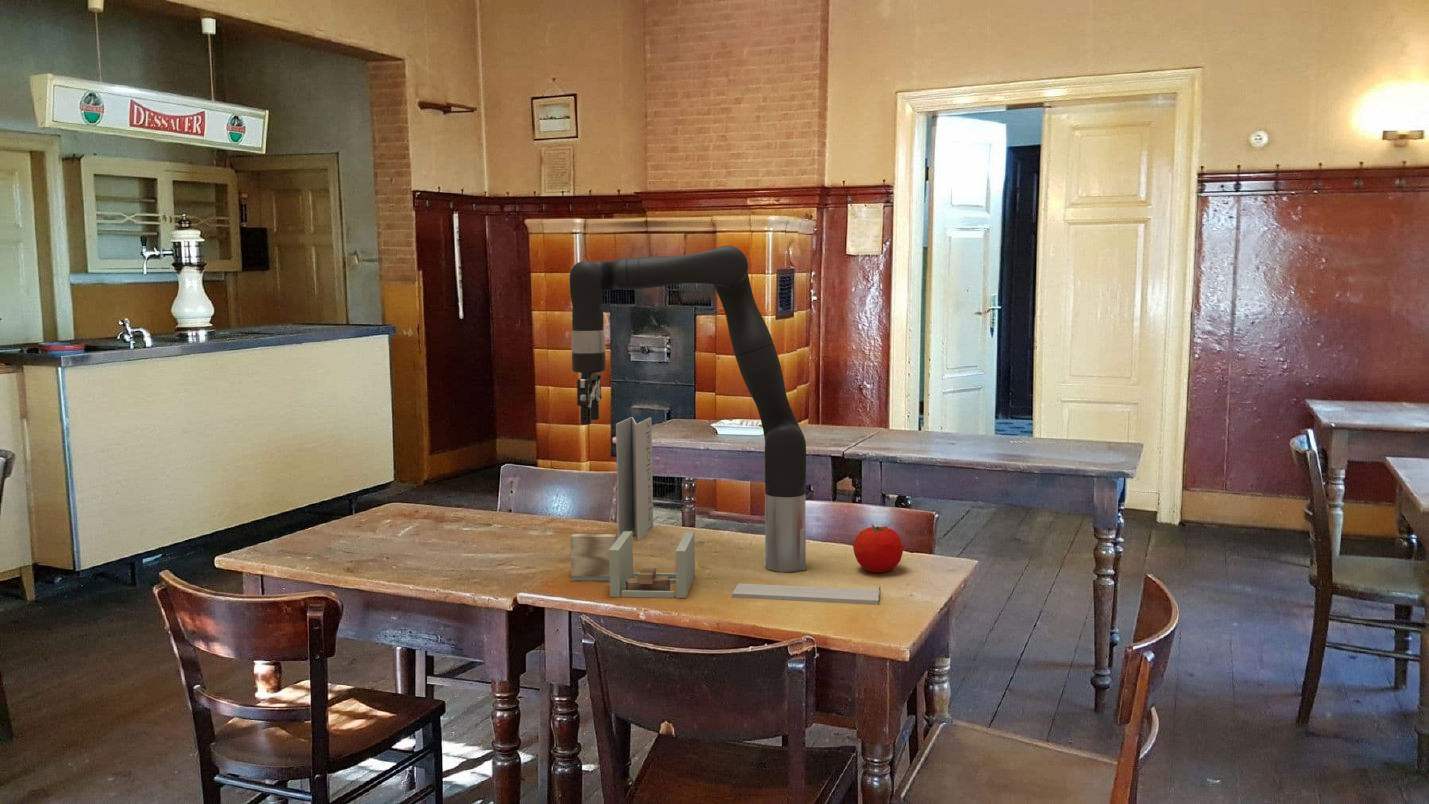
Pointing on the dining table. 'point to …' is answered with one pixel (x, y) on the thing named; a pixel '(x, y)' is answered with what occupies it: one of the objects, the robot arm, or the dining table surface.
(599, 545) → the tan wooden slab
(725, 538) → the dining table surface
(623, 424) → the brochure
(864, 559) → the tomato
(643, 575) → the offcut top
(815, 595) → the baseboard
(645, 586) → the offcut bottom
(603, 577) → the mat
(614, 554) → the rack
